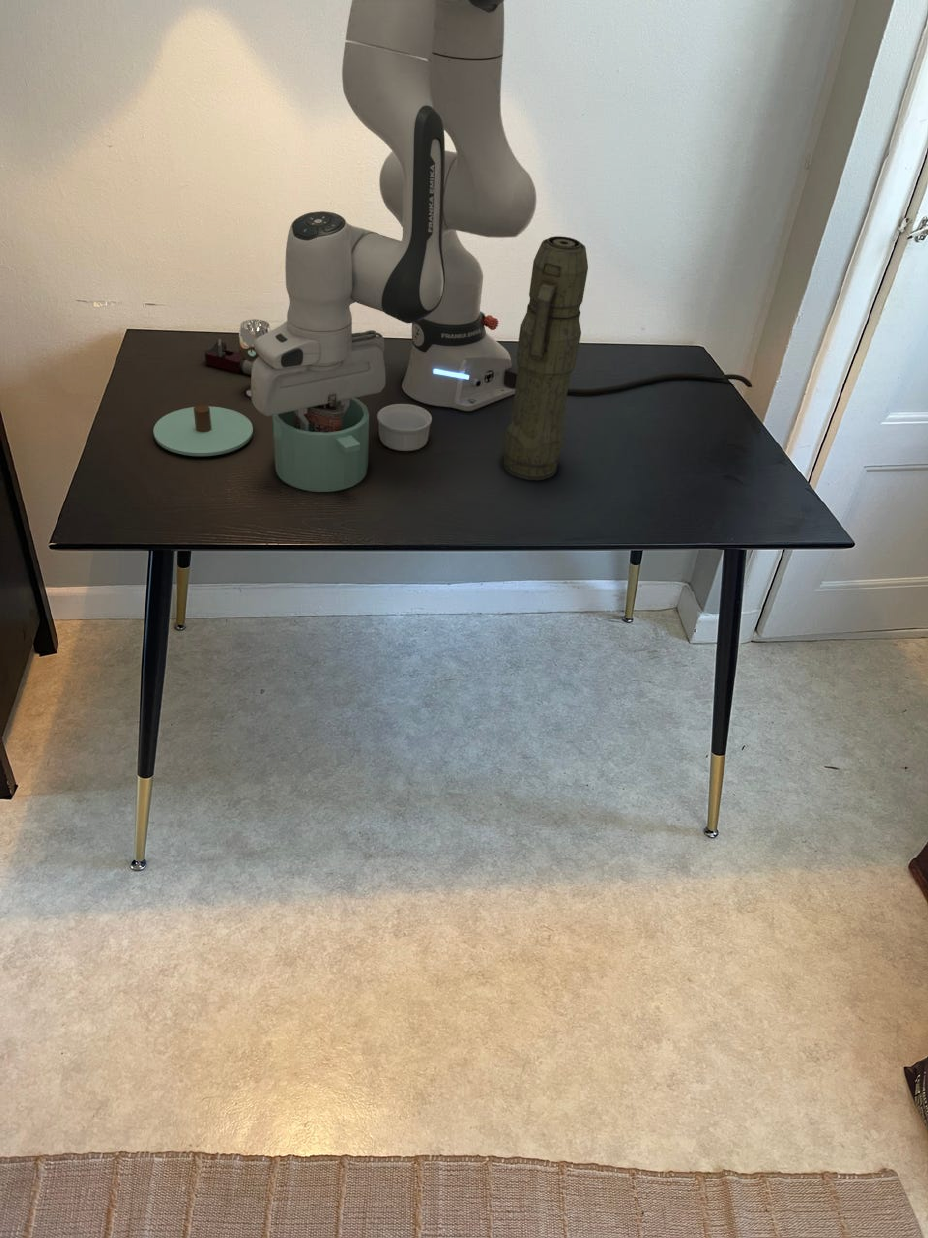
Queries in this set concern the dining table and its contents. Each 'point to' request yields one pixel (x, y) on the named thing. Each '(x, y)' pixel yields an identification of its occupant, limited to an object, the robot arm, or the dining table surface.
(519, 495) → the dining table surface
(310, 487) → the pot
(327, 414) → the lighter
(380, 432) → the ramekin
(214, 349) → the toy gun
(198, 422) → the lid
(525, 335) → the thermos
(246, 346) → the wineglass
